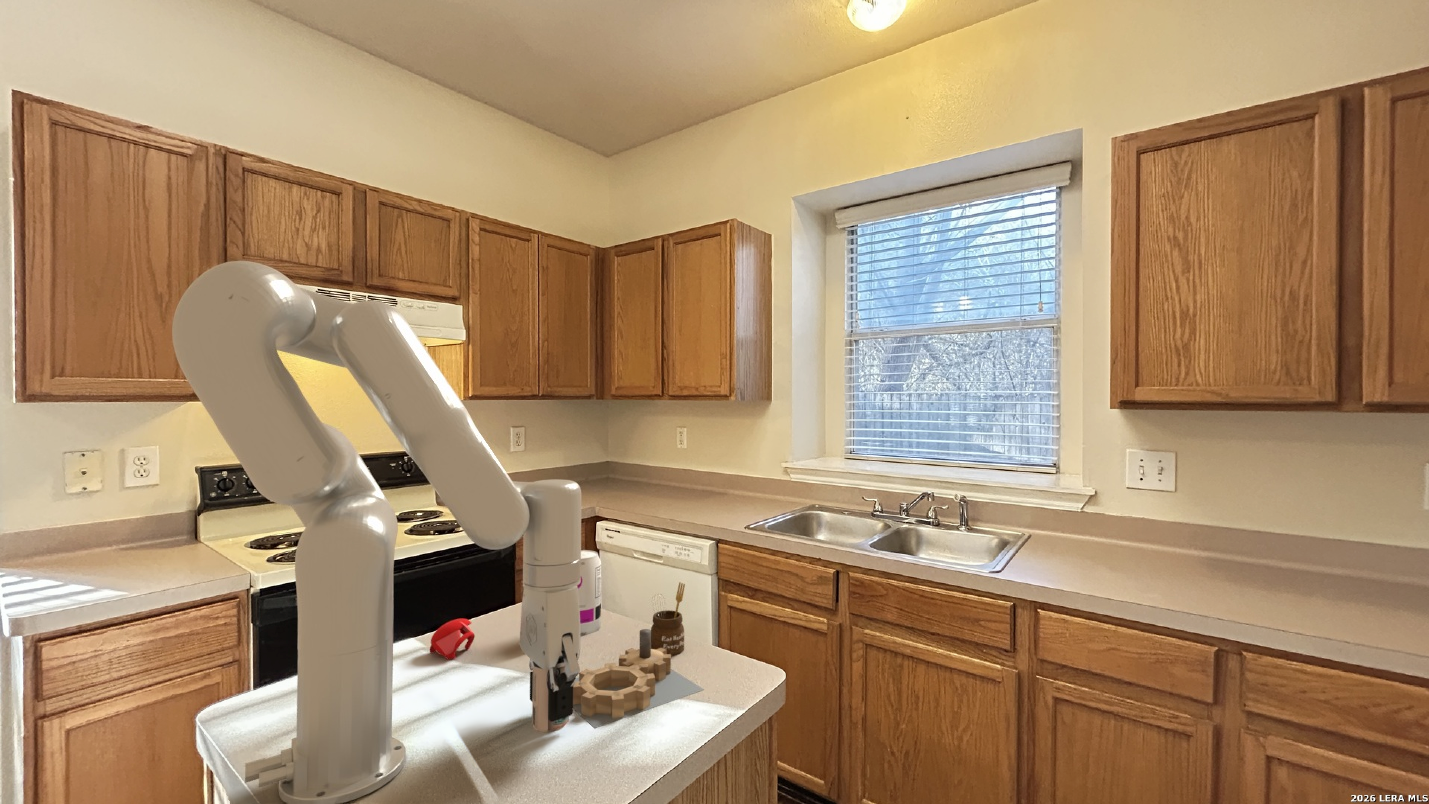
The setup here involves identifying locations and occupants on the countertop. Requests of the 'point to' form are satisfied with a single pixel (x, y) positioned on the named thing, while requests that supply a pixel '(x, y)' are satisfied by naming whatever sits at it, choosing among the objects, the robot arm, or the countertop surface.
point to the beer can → (544, 700)
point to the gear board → (664, 693)
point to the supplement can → (590, 592)
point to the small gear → (648, 657)
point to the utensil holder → (668, 628)
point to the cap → (451, 638)
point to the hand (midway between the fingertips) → (550, 706)
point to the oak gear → (613, 701)
